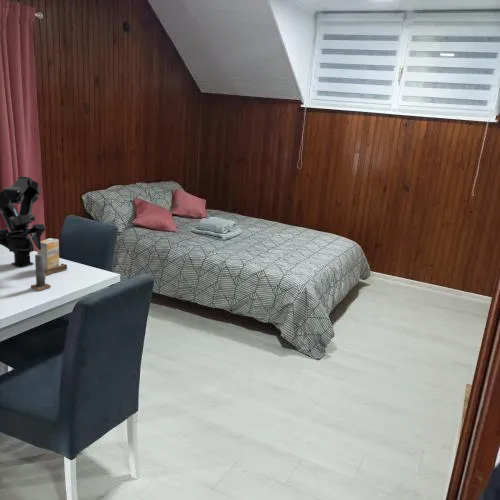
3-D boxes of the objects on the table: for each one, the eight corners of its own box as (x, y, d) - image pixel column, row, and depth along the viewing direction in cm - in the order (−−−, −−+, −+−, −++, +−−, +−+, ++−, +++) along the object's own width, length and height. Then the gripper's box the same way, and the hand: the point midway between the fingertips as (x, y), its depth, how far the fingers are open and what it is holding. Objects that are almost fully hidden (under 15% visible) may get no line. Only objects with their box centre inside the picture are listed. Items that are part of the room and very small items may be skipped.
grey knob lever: (13, 280, 184) (12, 249, 181) (62, 267, 203) (61, 239, 200) (39, 290, 177) (37, 258, 173) (87, 276, 196) (86, 246, 192)
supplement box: (48, 274, 195) (47, 243, 192) (37, 272, 196) (36, 242, 193) (60, 268, 203) (59, 239, 199) (50, 266, 204) (49, 237, 200)
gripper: (-6, 208, 172) (11, 244, 169) (42, 203, 186) (59, 236, 183) (-15, 225, 178) (1, 260, 175) (32, 219, 193) (48, 251, 190)
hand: (28, 251), depth 181 cm, fingers open, 9 cm apart
